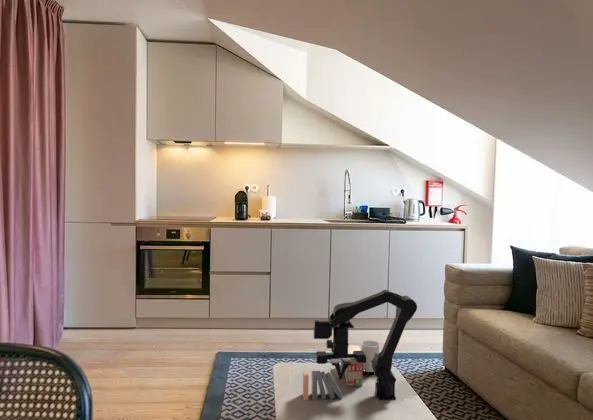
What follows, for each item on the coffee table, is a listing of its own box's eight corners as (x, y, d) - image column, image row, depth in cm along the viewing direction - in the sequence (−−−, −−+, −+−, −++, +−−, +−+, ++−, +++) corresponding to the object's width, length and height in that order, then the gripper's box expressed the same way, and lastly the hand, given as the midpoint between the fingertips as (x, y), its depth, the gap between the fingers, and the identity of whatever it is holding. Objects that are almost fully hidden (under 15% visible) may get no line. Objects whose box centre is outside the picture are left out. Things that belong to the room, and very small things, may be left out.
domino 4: (332, 391, 174) (324, 370, 174) (334, 397, 169) (325, 375, 169) (329, 393, 174) (320, 372, 173) (331, 399, 169) (322, 377, 169)
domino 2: (315, 393, 174) (315, 370, 173) (317, 399, 169) (317, 375, 169) (311, 393, 174) (311, 370, 173) (313, 399, 169) (313, 376, 168)
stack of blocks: (341, 365, 202) (342, 338, 202) (355, 365, 202) (356, 338, 202) (347, 386, 181) (347, 356, 180) (362, 386, 181) (363, 356, 180)
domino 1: (306, 394, 173) (307, 370, 173) (308, 399, 169) (308, 376, 168) (302, 394, 173) (303, 371, 173) (303, 399, 169) (304, 376, 168)
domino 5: (341, 390, 175) (329, 371, 174) (343, 396, 170) (331, 377, 169) (337, 393, 174) (325, 374, 174) (339, 398, 170) (327, 379, 169)
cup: (382, 369, 198) (382, 342, 197) (375, 375, 191) (375, 347, 190) (365, 365, 202) (365, 339, 201) (357, 371, 195) (358, 344, 195)
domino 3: (324, 392, 174) (319, 370, 173) (326, 398, 169) (321, 375, 169) (320, 393, 174) (315, 371, 173) (322, 399, 169) (317, 376, 169)
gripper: (360, 331, 180) (359, 370, 181) (313, 332, 178) (313, 371, 179) (366, 341, 169) (366, 382, 170) (317, 341, 167) (316, 383, 168)
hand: (340, 379), depth 172 cm, fingers closed
